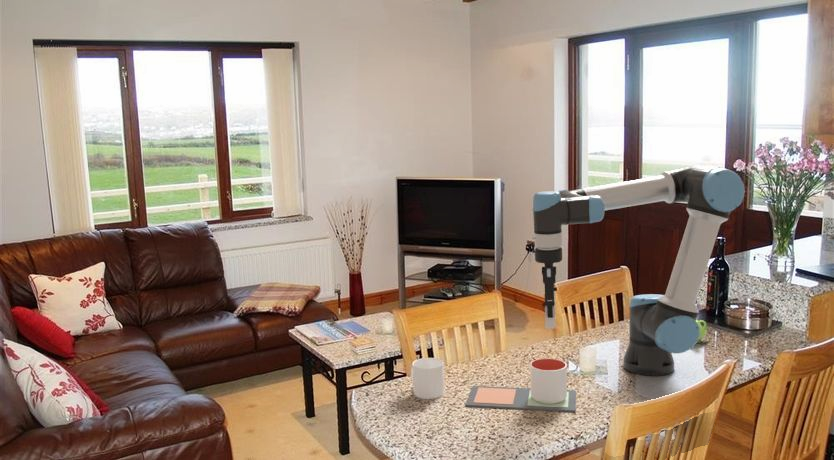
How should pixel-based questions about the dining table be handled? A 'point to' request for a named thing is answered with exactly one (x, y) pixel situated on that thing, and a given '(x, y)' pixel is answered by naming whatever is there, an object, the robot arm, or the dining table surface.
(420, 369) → the mug
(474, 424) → the dining table surface
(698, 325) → the teapot
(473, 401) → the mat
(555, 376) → the cup
